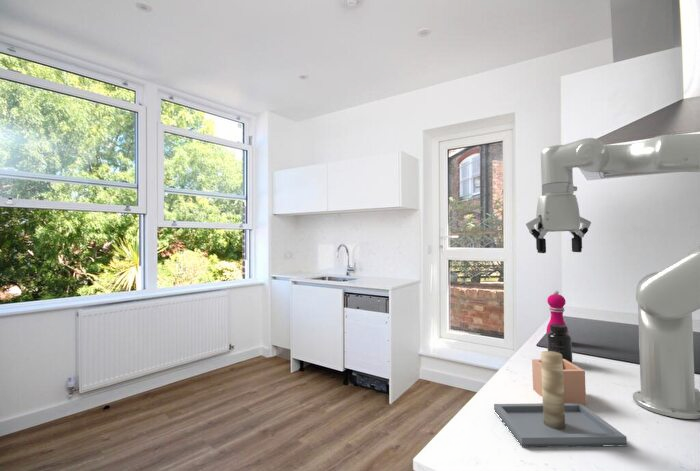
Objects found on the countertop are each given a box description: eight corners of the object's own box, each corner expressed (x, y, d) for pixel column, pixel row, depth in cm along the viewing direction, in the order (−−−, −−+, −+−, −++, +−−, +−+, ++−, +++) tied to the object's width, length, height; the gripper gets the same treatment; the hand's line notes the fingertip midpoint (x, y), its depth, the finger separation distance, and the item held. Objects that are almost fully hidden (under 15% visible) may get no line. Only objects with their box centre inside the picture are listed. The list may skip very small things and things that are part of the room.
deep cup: (565, 389, 93) (564, 358, 93) (586, 404, 84) (584, 370, 85) (533, 389, 93) (532, 359, 93) (550, 404, 85) (549, 371, 85)
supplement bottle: (550, 357, 117) (548, 321, 117) (573, 361, 113) (572, 324, 113) (545, 363, 112) (544, 326, 112) (570, 368, 108) (569, 329, 108)
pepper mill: (567, 346, 128) (565, 292, 128) (545, 343, 132) (543, 290, 133) (569, 341, 134) (568, 289, 134) (548, 339, 138) (546, 288, 138)
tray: (580, 410, 81) (580, 402, 81) (626, 446, 67) (626, 436, 67) (494, 411, 82) (494, 404, 82) (521, 447, 68) (521, 437, 68)
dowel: (558, 419, 77) (555, 350, 77) (569, 429, 73) (566, 356, 73) (540, 419, 77) (537, 351, 77) (549, 429, 73) (546, 357, 73)
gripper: (579, 192, 101) (581, 251, 100) (519, 193, 101) (521, 252, 101) (597, 188, 93) (600, 252, 93) (532, 189, 93) (535, 253, 93)
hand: (559, 252), depth 97 cm, fingers open, 9 cm apart
